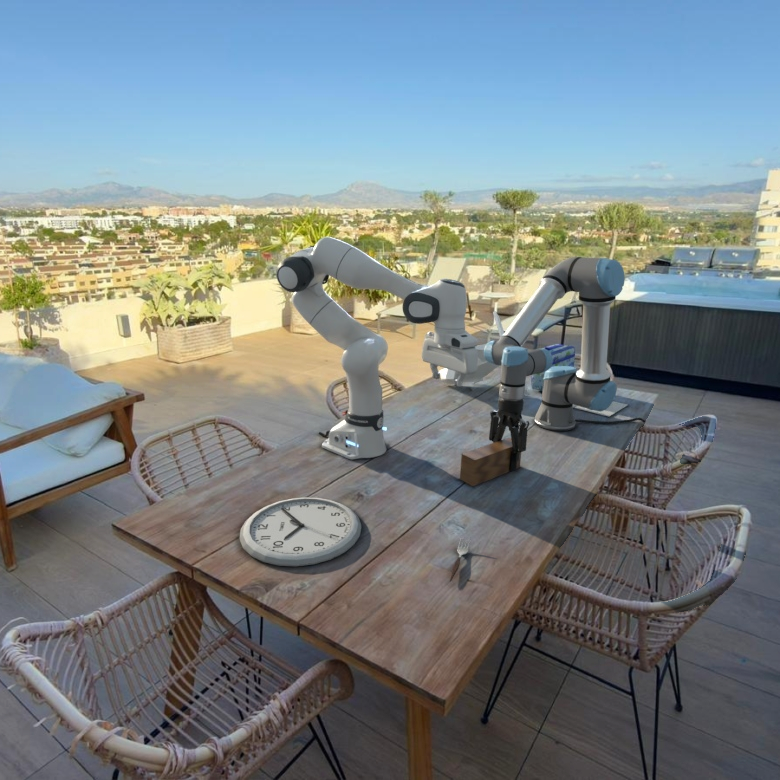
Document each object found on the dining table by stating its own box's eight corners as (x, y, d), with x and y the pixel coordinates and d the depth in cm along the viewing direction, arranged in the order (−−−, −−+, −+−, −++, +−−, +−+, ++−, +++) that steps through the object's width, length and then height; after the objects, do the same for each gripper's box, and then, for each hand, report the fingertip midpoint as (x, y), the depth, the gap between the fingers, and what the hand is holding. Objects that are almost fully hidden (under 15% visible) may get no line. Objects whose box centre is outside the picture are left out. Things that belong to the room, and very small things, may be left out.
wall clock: (363, 557, 118) (227, 562, 115) (363, 563, 118) (227, 568, 115) (359, 492, 146) (250, 495, 143) (359, 498, 147) (250, 500, 144)
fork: (443, 582, 112) (444, 574, 112) (460, 542, 127) (460, 535, 126) (455, 584, 112) (456, 576, 111) (471, 544, 126) (471, 537, 125)
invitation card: (608, 416, 214) (573, 407, 224) (608, 416, 214) (573, 408, 224) (628, 404, 229) (594, 396, 238) (628, 405, 229) (594, 397, 238)
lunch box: (547, 396, 238) (552, 351, 232) (526, 391, 246) (531, 347, 239) (574, 385, 256) (579, 343, 250) (554, 380, 263) (559, 340, 257)
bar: (506, 461, 172) (508, 437, 169) (519, 467, 168) (522, 442, 165) (459, 479, 159) (461, 453, 156) (473, 486, 155) (475, 460, 152)
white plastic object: (461, 429, 252) (437, 405, 227) (444, 352, 274) (420, 323, 250) (535, 404, 240) (518, 377, 215) (510, 326, 262) (492, 293, 237)
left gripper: (417, 331, 158) (416, 375, 162) (466, 344, 142) (463, 392, 147) (433, 329, 161) (431, 372, 166) (482, 341, 146) (479, 388, 150)
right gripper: (480, 392, 165) (475, 459, 172) (528, 408, 151) (520, 480, 158) (496, 388, 169) (490, 453, 176) (544, 403, 155) (536, 473, 162)
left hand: (446, 382), depth 156 cm, fingers open, 8 cm apart
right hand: (504, 466), depth 167 cm, fingers closed on bar, 5 cm apart
